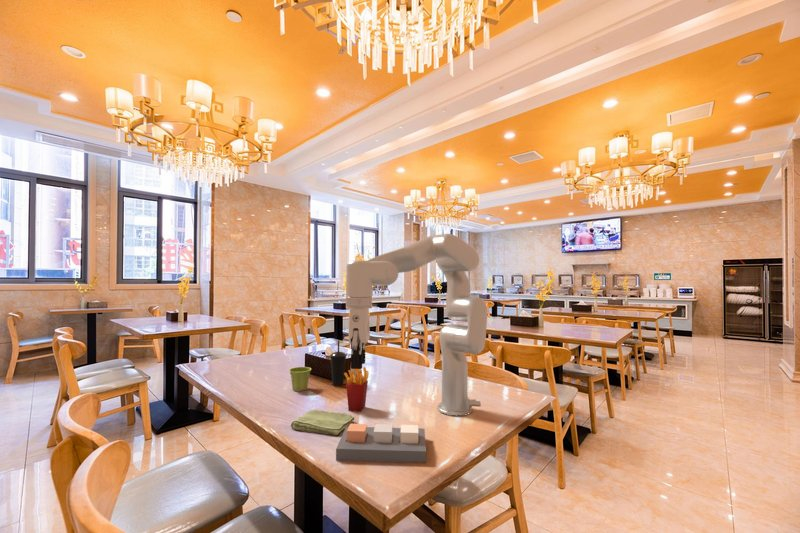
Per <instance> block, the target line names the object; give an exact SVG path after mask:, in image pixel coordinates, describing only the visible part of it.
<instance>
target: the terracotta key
mask: <svg viewBox="0 0 800 533" xmlns="http://www.w3.org/2000/svg"><path fill="white" fill-rule="evenodd" d="M347 427H348V430H347V442H365V440H366V437H367V427H368V424H367V423H350V424H349V425H348V426H347Z"/></svg>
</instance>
